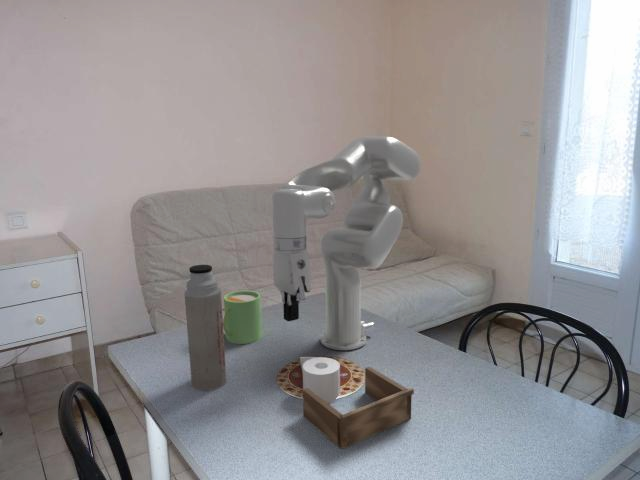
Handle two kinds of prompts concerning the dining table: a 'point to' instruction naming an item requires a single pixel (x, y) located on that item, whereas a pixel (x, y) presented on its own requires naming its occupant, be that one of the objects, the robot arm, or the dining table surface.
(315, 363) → the toilet paper
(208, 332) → the thermos bottle
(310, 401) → the open wooden box
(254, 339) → the mug
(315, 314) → the dining table surface
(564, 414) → the dining table surface
